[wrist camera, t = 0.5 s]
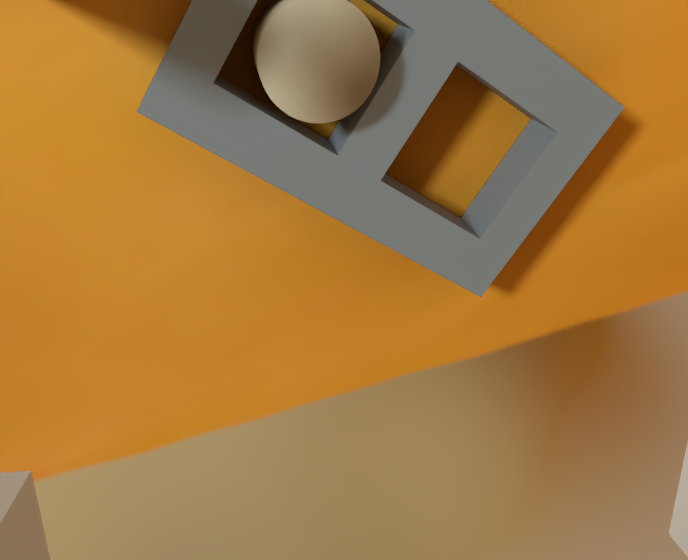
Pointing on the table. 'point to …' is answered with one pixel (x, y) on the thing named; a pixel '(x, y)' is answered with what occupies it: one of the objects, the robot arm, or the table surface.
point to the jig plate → (396, 128)
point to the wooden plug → (316, 57)
